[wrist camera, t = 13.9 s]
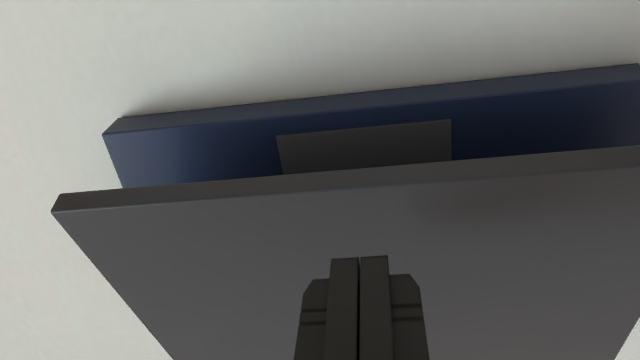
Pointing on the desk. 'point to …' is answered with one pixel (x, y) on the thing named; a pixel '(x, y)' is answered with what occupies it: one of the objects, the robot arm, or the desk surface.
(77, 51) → the desk surface
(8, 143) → the desk surface
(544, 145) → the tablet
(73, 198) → the cover
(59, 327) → the desk surface
